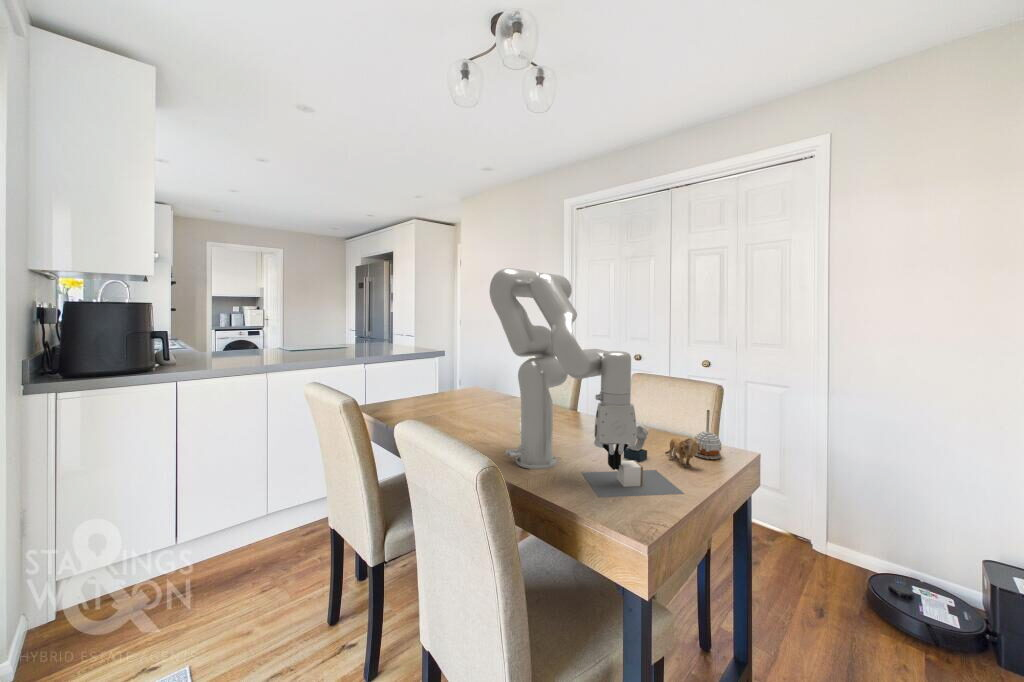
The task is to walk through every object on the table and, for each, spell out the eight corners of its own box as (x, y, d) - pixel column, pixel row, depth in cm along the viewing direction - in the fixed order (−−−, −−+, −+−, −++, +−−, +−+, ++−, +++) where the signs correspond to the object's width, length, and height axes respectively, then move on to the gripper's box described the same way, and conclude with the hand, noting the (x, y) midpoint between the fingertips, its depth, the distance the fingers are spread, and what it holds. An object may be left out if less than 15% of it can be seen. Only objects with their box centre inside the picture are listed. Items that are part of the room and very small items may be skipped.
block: (624, 467, 107) (643, 467, 108) (617, 460, 112) (635, 460, 112) (623, 486, 107) (642, 485, 108) (617, 479, 112) (634, 478, 113)
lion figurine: (704, 470, 120) (705, 439, 120) (688, 472, 119) (689, 441, 118) (671, 454, 134) (672, 426, 134) (657, 455, 133) (658, 427, 132)
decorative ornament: (710, 452, 137) (712, 406, 136) (725, 460, 129) (727, 412, 128) (688, 452, 136) (690, 407, 135) (702, 461, 128) (703, 413, 127)
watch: (650, 458, 130) (650, 424, 129) (636, 465, 124) (637, 428, 123) (633, 454, 134) (634, 420, 133) (620, 460, 128) (621, 425, 127)
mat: (598, 498, 101) (598, 497, 101) (580, 473, 117) (580, 472, 117) (684, 495, 103) (684, 493, 103) (655, 471, 119) (655, 469, 119)
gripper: (591, 402, 104) (590, 474, 105) (649, 401, 105) (647, 472, 106) (583, 396, 111) (582, 463, 112) (637, 395, 113) (636, 462, 114)
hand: (614, 467), depth 109 cm, fingers closed
